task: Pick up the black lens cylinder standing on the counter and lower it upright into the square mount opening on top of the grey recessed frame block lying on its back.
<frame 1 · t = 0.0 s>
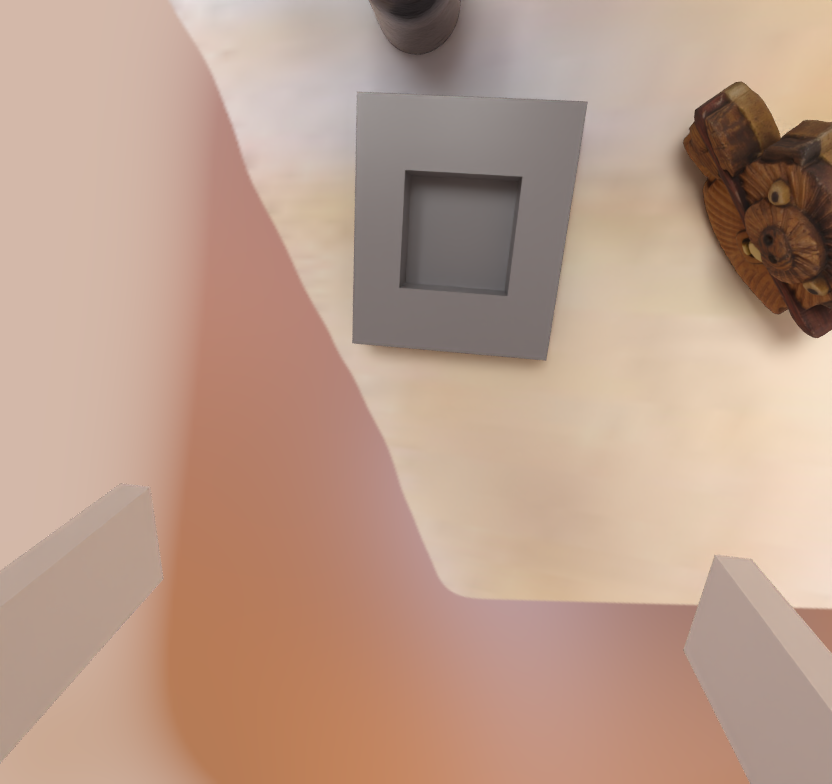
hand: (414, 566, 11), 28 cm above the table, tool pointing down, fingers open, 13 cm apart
grey recessed frame block: (459, 234, 35), on the table
lens: (418, 4, 31), on the table
wooden carving: (732, 222, 33), on the table
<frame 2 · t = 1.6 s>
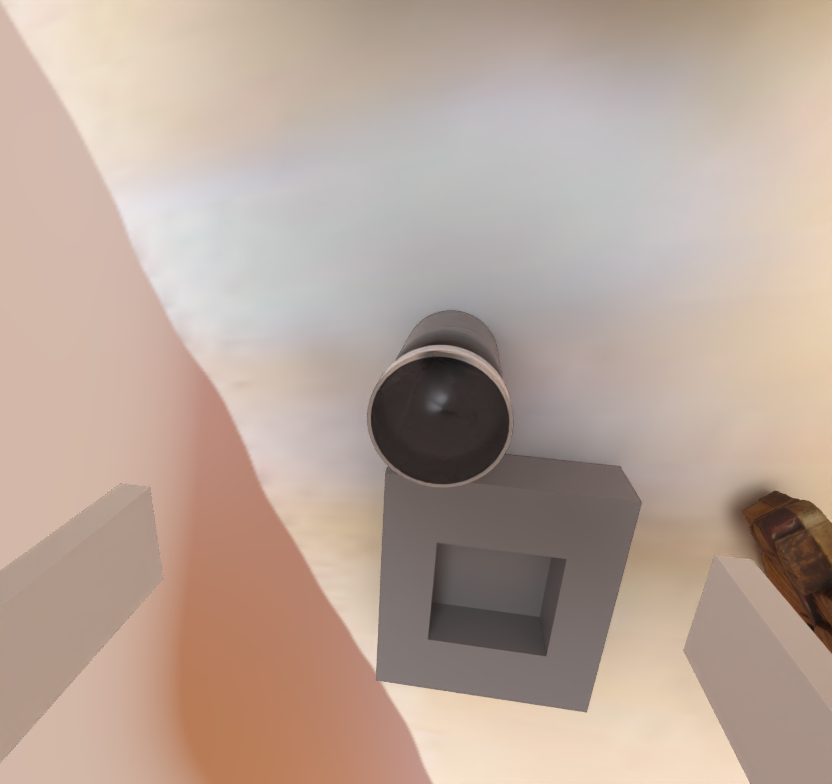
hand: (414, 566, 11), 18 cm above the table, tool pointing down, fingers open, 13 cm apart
grey recessed frame block: (491, 558, 32), on the table
lens: (450, 356, 28), on the table
wooden carving: (790, 567, 30), on the table
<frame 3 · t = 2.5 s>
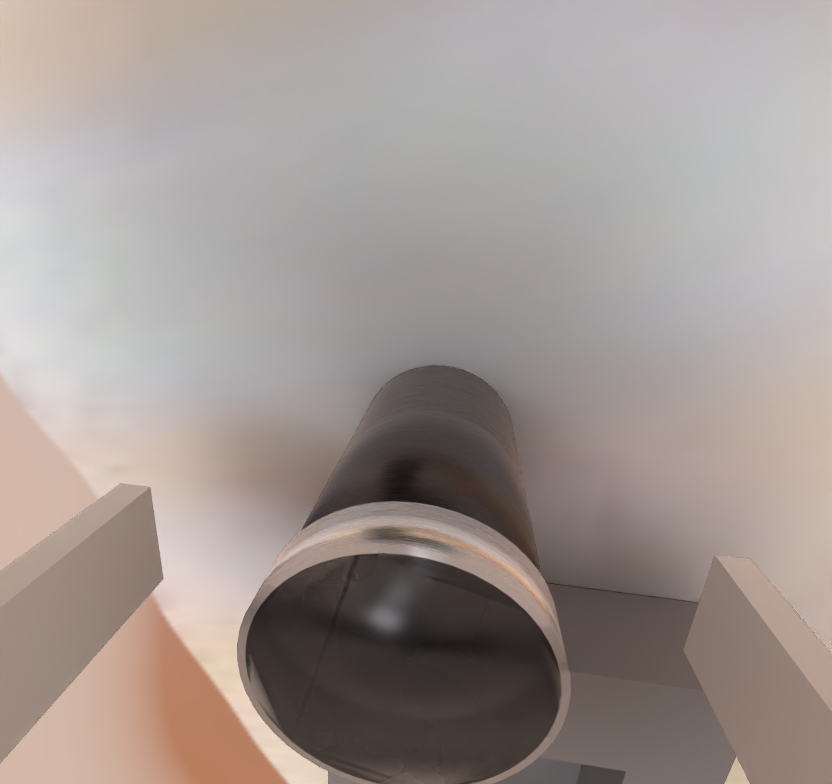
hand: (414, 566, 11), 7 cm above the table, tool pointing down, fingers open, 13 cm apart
grey recessed frame block: (499, 717, 22), on the table
lens: (437, 436, 18), on the table
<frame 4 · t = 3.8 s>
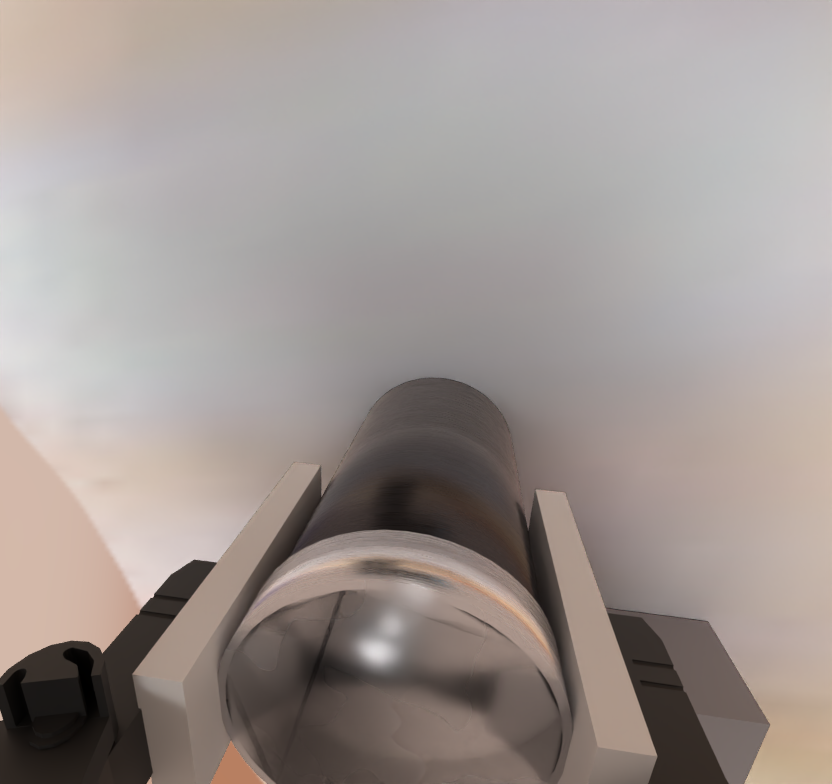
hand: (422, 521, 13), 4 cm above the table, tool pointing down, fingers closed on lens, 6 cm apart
grey recessed frame block: (499, 738, 21), on the table
lens: (434, 450, 17), on the table, touching gripper
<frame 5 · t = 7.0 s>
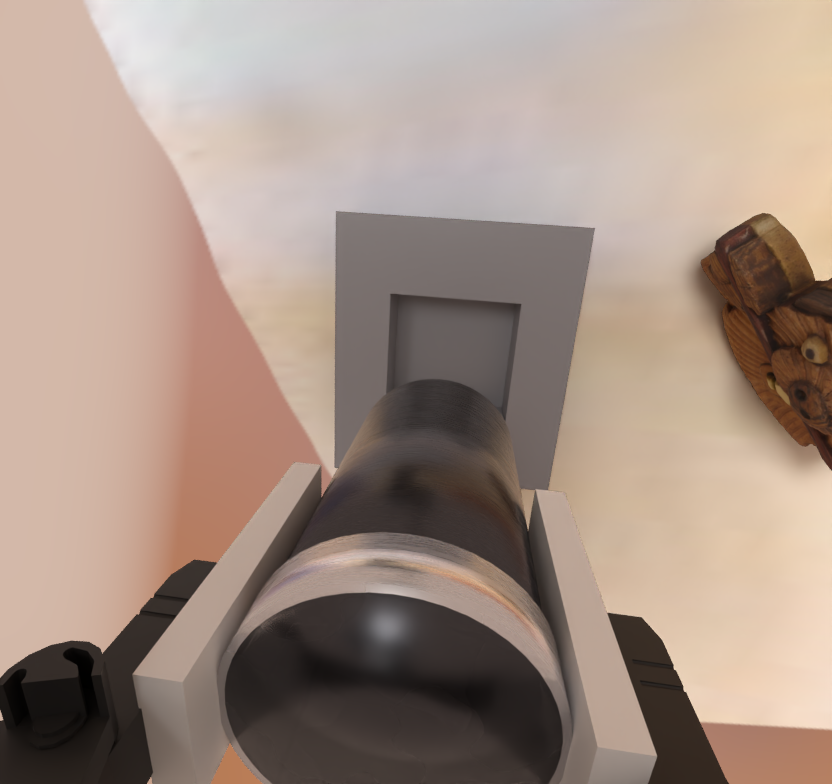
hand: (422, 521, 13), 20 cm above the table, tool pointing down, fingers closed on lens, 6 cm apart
grey recessed frame block: (452, 346, 32), on the table
lens: (434, 451, 17), point 16 cm above the table, touching gripper
wooden carving: (754, 340, 30), on the table
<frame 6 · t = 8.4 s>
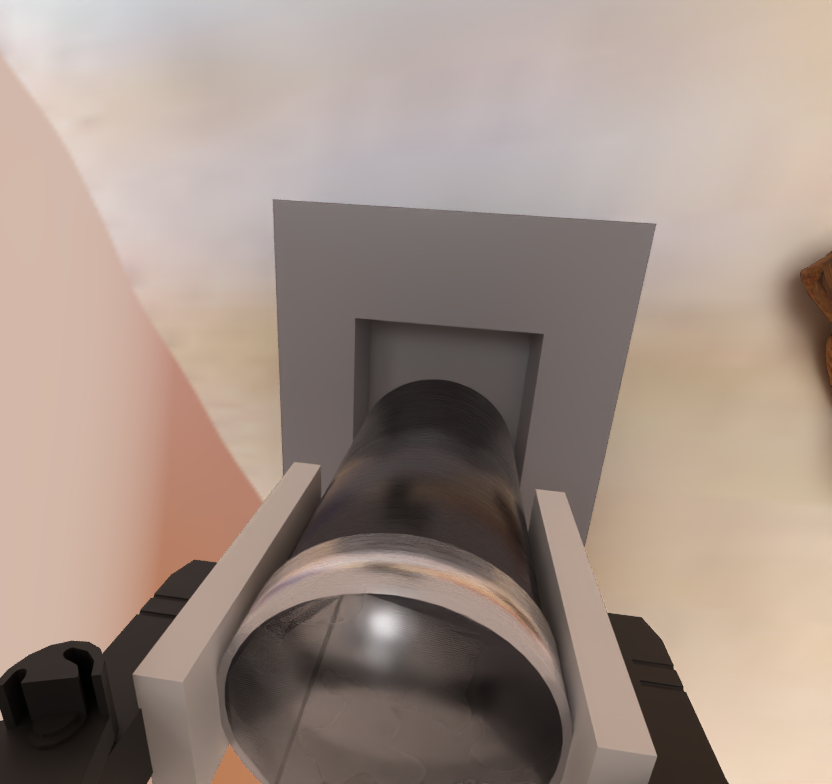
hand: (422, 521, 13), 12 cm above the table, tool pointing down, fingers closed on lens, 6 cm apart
grey recessed frame block: (445, 383, 24), on the table
lens: (434, 451, 17), point 7 cm above the table, touching gripper
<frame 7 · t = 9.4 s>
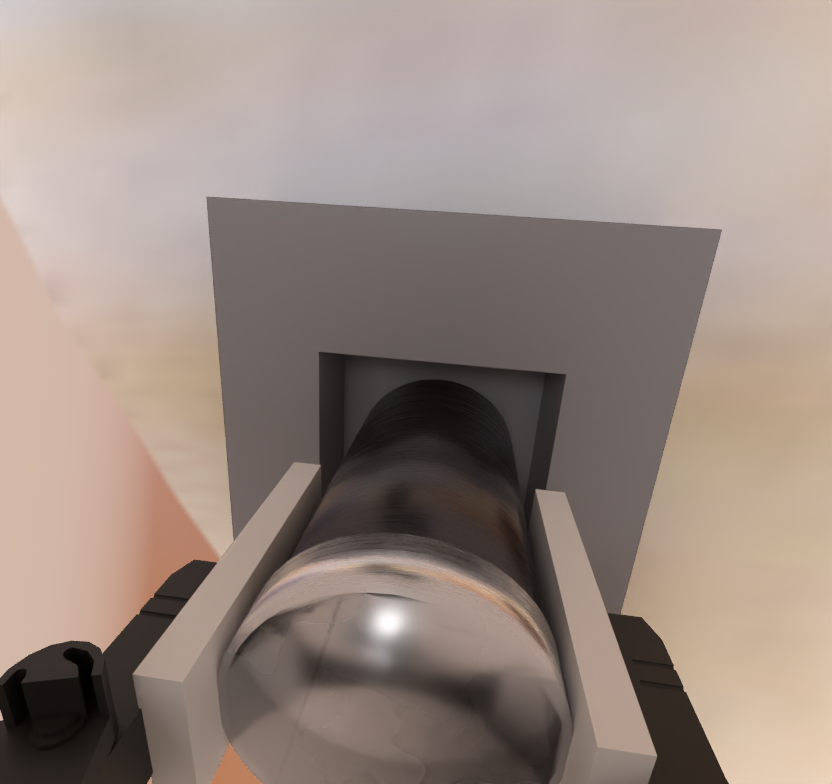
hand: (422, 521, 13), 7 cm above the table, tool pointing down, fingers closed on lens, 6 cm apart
grey recessed frame block: (438, 424, 19), on the table
lens: (434, 451, 17), point 2 cm above the table, touching gripper
when the fingers open (7 cm above the table, at t = 10.1 s): lens drops 1 cm, resting on grey recessed frame block.
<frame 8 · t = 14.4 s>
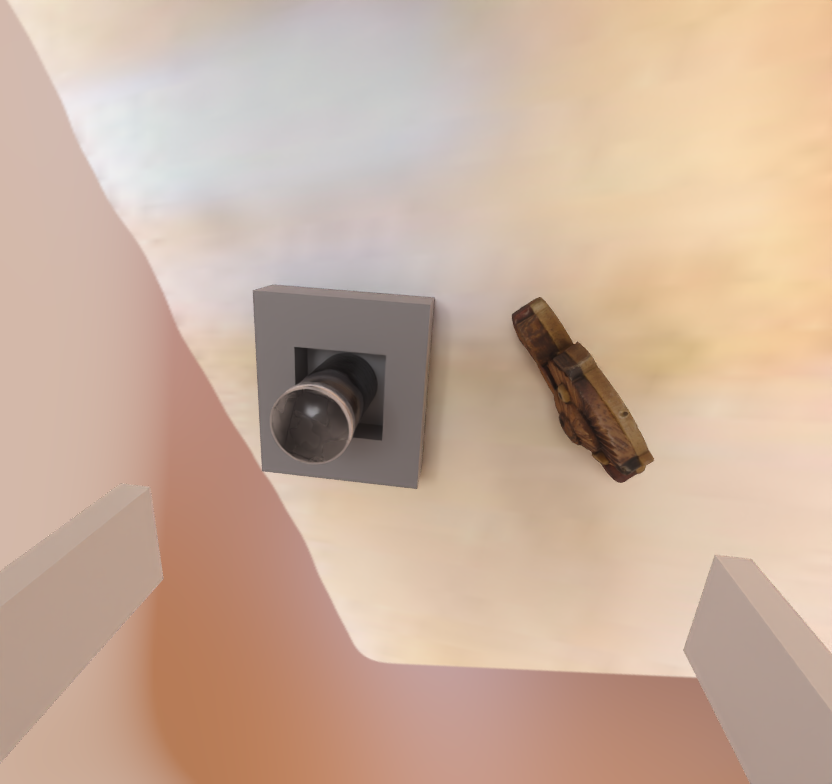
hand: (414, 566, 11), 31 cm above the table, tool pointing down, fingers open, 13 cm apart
grey recessed frame block: (350, 380, 43), on the table
lens: (347, 382, 42), point 1 cm above the table, touching grey recessed frame block
wooden carving: (567, 378, 41), on the table
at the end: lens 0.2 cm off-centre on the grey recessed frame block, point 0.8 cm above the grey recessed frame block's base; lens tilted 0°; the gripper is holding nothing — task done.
